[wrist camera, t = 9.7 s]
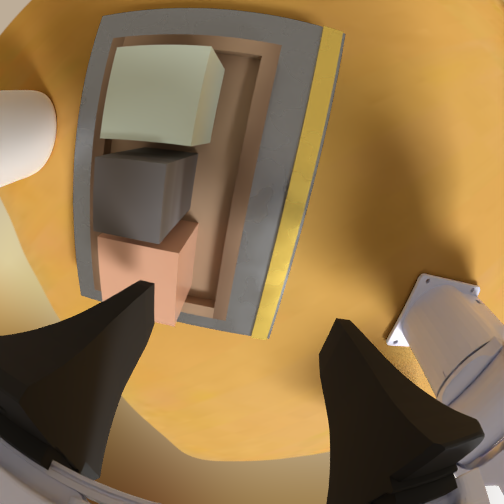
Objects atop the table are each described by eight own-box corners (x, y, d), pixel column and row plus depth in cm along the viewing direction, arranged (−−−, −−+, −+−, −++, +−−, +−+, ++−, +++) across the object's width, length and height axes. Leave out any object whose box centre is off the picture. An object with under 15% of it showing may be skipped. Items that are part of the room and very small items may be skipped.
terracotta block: (198, 223, 15) (179, 253, 11) (191, 285, 16) (174, 326, 13) (132, 211, 15) (97, 236, 11) (131, 271, 16) (103, 307, 13)
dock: (335, 45, 14) (346, 32, 11) (268, 319, 23) (269, 340, 20) (118, 25, 13) (101, 15, 11) (94, 280, 22) (80, 296, 20)
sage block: (225, 69, 11) (211, 46, 8) (210, 143, 13) (190, 146, 9) (151, 65, 11) (117, 47, 8) (138, 135, 13) (100, 138, 9)
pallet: (278, 59, 13) (290, 10, 6) (230, 296, 19) (216, 371, 13) (133, 49, 12) (69, 17, 6) (112, 270, 19) (62, 327, 12)
